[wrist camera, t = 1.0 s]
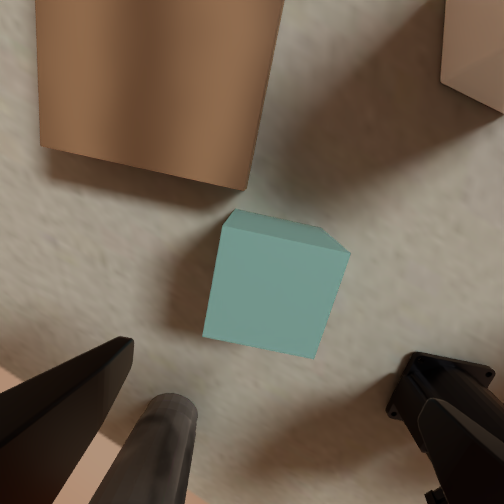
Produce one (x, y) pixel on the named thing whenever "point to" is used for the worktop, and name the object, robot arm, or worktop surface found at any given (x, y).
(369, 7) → the worktop surface
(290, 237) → the teal block
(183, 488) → the beverage cup
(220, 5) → the walnut base
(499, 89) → the jar
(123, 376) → the robot arm
